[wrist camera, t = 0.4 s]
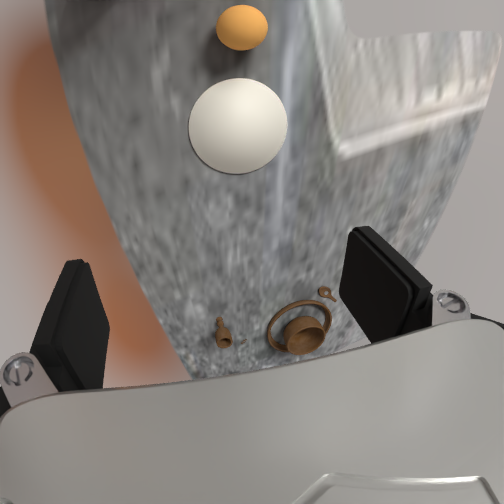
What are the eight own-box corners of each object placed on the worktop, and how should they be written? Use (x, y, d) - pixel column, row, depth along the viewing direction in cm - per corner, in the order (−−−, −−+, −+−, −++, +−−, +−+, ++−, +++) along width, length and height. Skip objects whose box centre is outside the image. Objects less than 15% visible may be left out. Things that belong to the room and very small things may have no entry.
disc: (186, 81, 32) (186, 81, 32) (287, 78, 34) (287, 78, 34) (192, 177, 38) (192, 178, 38) (285, 170, 40) (286, 170, 40)
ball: (213, 10, 28) (219, -1, 24) (260, 11, 29) (273, 1, 25) (213, 53, 31) (220, 48, 26) (260, 52, 32) (274, 48, 27)
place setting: (281, 362, 61) (290, 385, 56) (204, 320, 51) (208, 346, 46) (349, 306, 57) (364, 326, 52) (283, 246, 47) (297, 268, 42)
